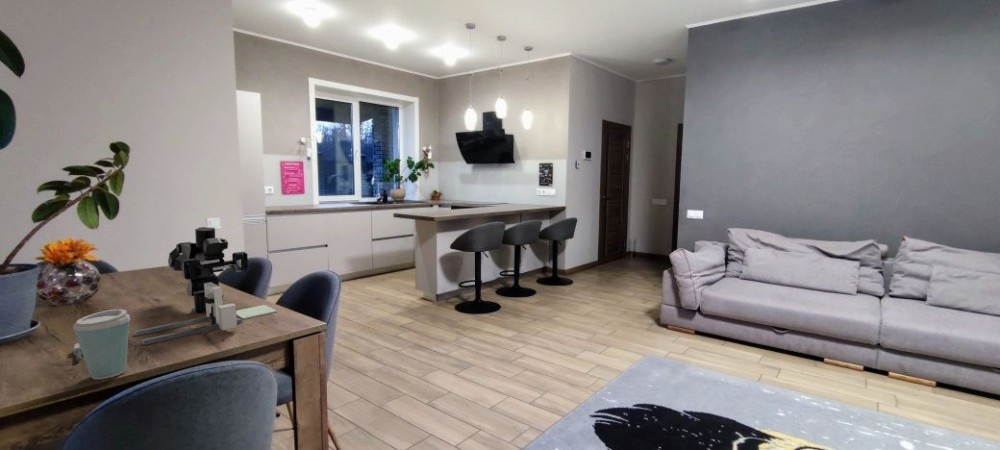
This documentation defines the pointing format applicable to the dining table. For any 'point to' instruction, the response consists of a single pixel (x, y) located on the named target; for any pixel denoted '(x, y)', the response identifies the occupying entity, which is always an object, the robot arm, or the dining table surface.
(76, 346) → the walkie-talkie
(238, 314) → the pad
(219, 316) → the frosted white block
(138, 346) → the dining table surface
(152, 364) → the dining table surface
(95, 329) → the disposable coffee cup
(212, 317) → the push button
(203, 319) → the tie rails
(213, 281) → the robot arm
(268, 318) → the dining table surface
